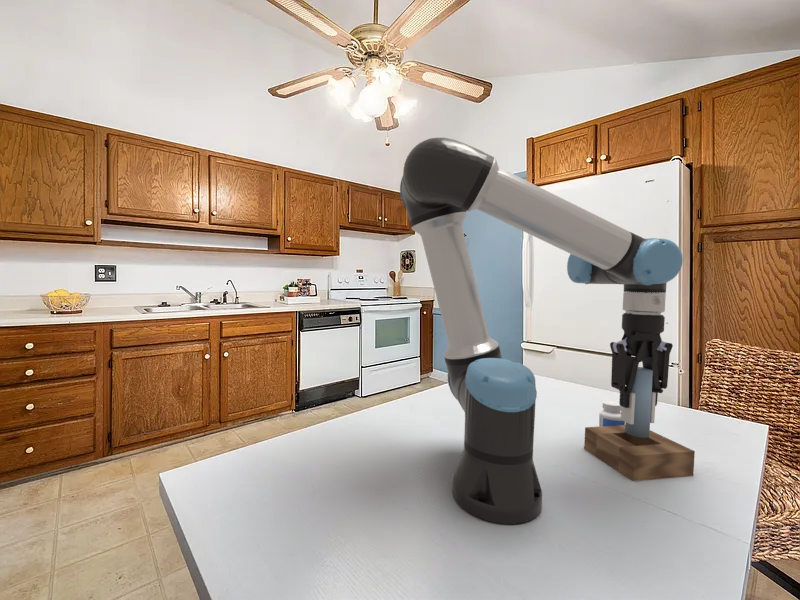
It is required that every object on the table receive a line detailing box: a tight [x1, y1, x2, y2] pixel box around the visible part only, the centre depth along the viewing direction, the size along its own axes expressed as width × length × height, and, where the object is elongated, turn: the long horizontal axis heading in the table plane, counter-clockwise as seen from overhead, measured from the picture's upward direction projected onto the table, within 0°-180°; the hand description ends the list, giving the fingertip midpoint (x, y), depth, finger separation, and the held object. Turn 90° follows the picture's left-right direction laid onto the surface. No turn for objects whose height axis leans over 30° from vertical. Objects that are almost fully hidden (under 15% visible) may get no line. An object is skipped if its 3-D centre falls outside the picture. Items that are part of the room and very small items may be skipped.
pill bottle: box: [598, 400, 625, 427], centre depth 89 cm, size 6×5×10 cm
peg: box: [625, 366, 653, 438], centre depth 79 cm, size 4×4×14 cm
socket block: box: [583, 425, 696, 482], centre depth 80 cm, size 14×14×5 cm
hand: (637, 421), depth 79 cm, fingers closed on peg, 4 cm apart
